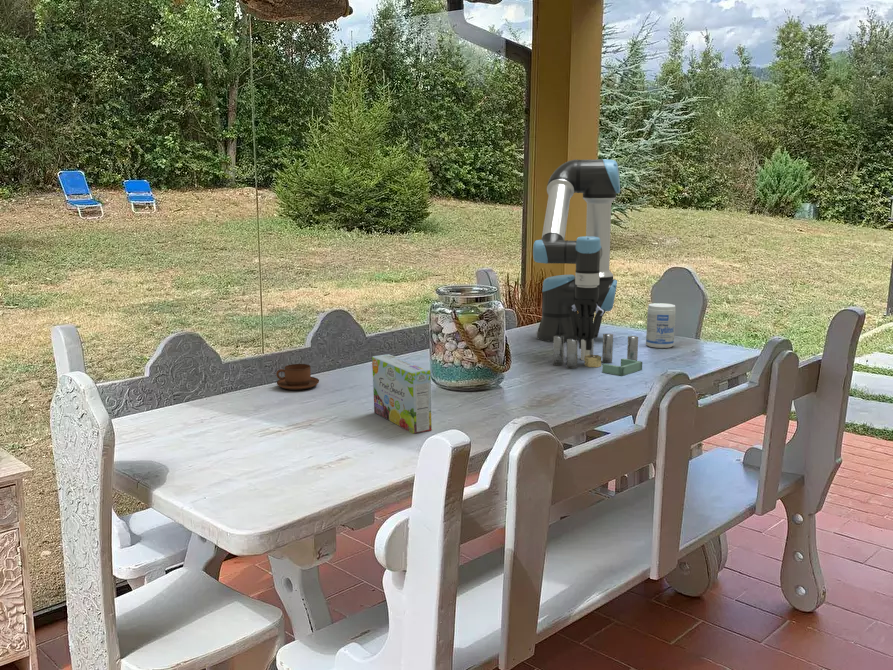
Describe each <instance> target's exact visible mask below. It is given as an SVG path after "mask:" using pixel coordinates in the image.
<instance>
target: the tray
mask: <svg viewBox="0 0 893 670" xmlns="http://www.w3.org/2000/svg"><path fill="white" fill-rule="evenodd" d="M601 367H602V369H601V370H602V371H601V372H602V373H605V374H611V375H615V376H621V377H623V376H626V375H630V374H633V373H635V372H639V371H642V370H643V361H640V360H637V361H635V360H629V359H627V358H620V366H619V365H614V364H611V363H602V364H601Z"/></svg>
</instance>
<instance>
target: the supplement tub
mask: <svg viewBox="0 0 893 670" xmlns="http://www.w3.org/2000/svg"><path fill="white" fill-rule="evenodd" d="M647 306H648V307H647V313H646V314H647V317H646V334H645V335H646V336H645V344H646V346H648V347H650V348H656V349H670V348H672V347H674V343H675V331H676V329H675V328H676V309H677V308H676V305H675V304H672V303H660V302H659V303H658V302H657V303H654V302H653V303H649V304H648V305H647Z"/></svg>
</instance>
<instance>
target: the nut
mask: <svg viewBox="0 0 893 670" xmlns="http://www.w3.org/2000/svg"><path fill="white" fill-rule="evenodd" d="M584 366H585V367H587V368H599V367H602V356H600V355H598V354H593V355H587V356H585V360H584Z"/></svg>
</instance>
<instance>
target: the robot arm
mask: <svg viewBox="0 0 893 670" xmlns="http://www.w3.org/2000/svg"><path fill="white" fill-rule="evenodd" d="M620 179H621V178H620V171H619V165H618V162H617V161H616V160H615V159H614V160H613V159H607V158H606V159H605V158H602V159H601V158H600V159H572V160H571V159H570V160H568V161H566V162H564V163H562V164H561V165H559V166H558V167H557V168H556V169H555V170H554V171H553V173H551V175H550V177H549V179H548V181H547V185H546V193H547V196H548V197H547V201H546V203H547V205H546V209H545V215H544V221H543V228H542V234H541V239H536V240H535V241H534V243H533V246H532V247H533V248H532V256H533V257H532V258H533V261H534V262H535V263H539V264H545V265H546V264H567V265H569V264H571V265H572V264H573V265H575V275H574V274H561V275H554V276H553V275H552V276H548V277H546V278H545V279H544V280H543V282H542V290H541V293H542V305H541V307H542V308H541V309H542V310H541V312H542V313H541V320H540V323H539V326H538V329H537V331H536V339H538V340H541V341H543V342H545V341H546V342H553V343H554V336H564V343H567V339H578V341H579V342H578V348H579V350H580V360H581V361H585V356H587V355H590V350H591V348H592V339H594V340H595V339H597V338H598V336H599V333H600V329H601V328H600V327H601V324H602V320H603V316H604V315H605V313H606V312H610V311H612V310H613V308H614V304H615V300H616V299H615V297H616V292H617V287H618V280H617V279H614V274H613V272H611V270H610V258H611V254H610V253H611V232H612V231H611V229H612V228H611V227H612V226H611V225H612V224H611V222H612V203H613V202H614V201H615V200H616V198H617V194H620V193H621V181H620ZM574 194H582V199H583V200H584V201H585V202H586V220H585V221H586V223H585V224H586V226H585V227H586V228H585V236H578V237H577V238H576V240H565V239H566V234H567V233H566V232H567V226H568V217H569V211H570V210H569V209H570V202H571V201H570V200H571V198H572V197H573V196H574Z"/></svg>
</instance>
